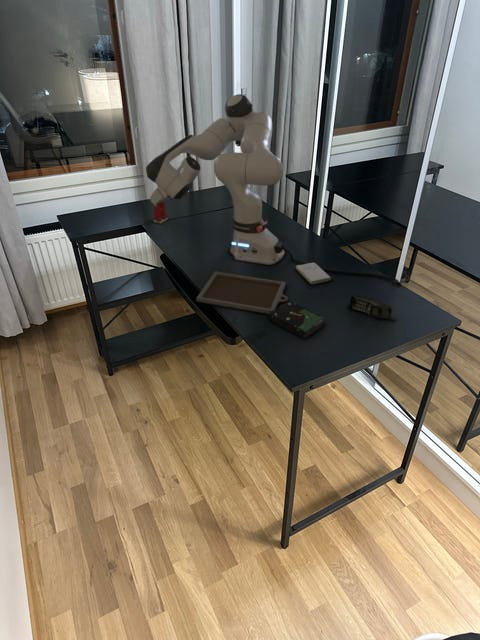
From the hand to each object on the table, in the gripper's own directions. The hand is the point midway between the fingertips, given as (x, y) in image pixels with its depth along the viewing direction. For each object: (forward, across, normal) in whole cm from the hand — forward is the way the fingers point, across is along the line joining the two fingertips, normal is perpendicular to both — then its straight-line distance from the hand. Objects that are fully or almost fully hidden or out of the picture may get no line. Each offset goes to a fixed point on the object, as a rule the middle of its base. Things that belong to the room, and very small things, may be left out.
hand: (162, 201), depth 198 cm
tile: (+9, 0, +5) cm, 10 cm away
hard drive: (-50, +2, +64) cm, 81 cm away
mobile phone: (-69, +12, +84) cm, 109 cm away
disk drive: (-57, +31, +71) cm, 97 cm away
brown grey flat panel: (-41, +28, +55) cm, 74 cm away
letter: (+9, 0, +5) cm, 10 cm away
